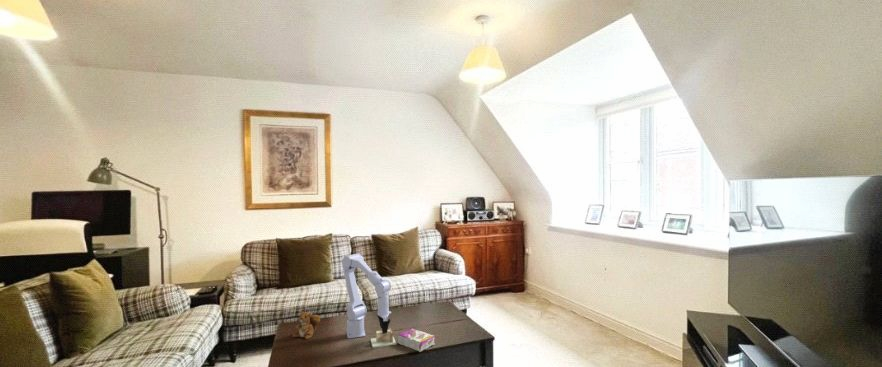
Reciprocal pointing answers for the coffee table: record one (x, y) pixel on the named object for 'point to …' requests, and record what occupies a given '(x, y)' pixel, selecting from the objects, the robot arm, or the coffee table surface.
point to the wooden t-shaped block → (384, 336)
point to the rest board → (382, 343)
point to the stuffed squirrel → (307, 325)
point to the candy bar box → (416, 339)
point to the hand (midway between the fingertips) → (383, 330)
